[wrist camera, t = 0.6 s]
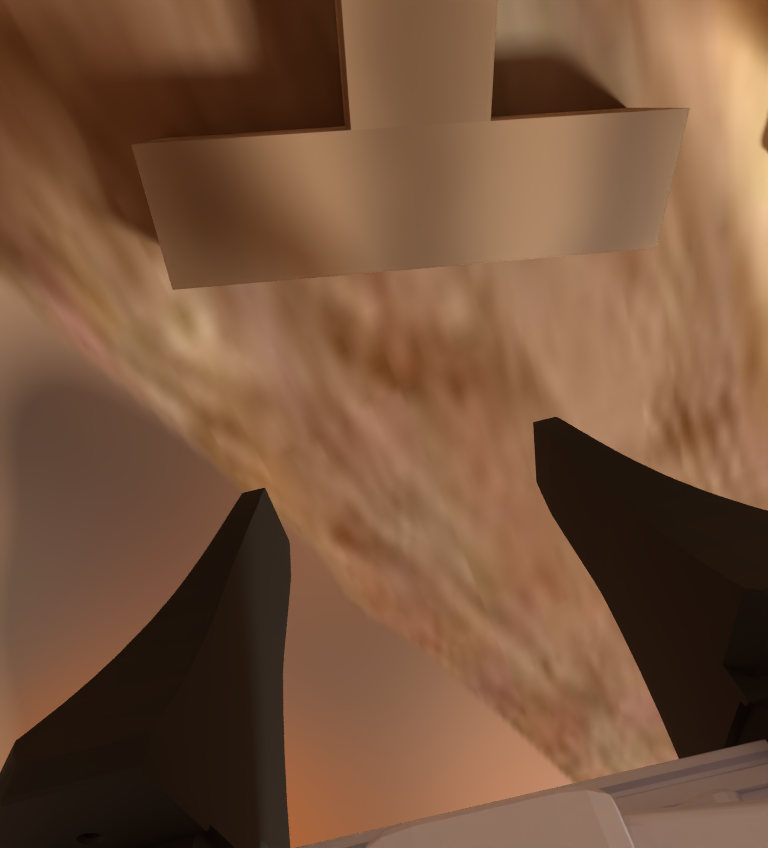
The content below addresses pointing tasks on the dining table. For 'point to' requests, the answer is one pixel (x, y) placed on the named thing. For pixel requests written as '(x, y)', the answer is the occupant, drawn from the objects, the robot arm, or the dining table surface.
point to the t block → (410, 167)
